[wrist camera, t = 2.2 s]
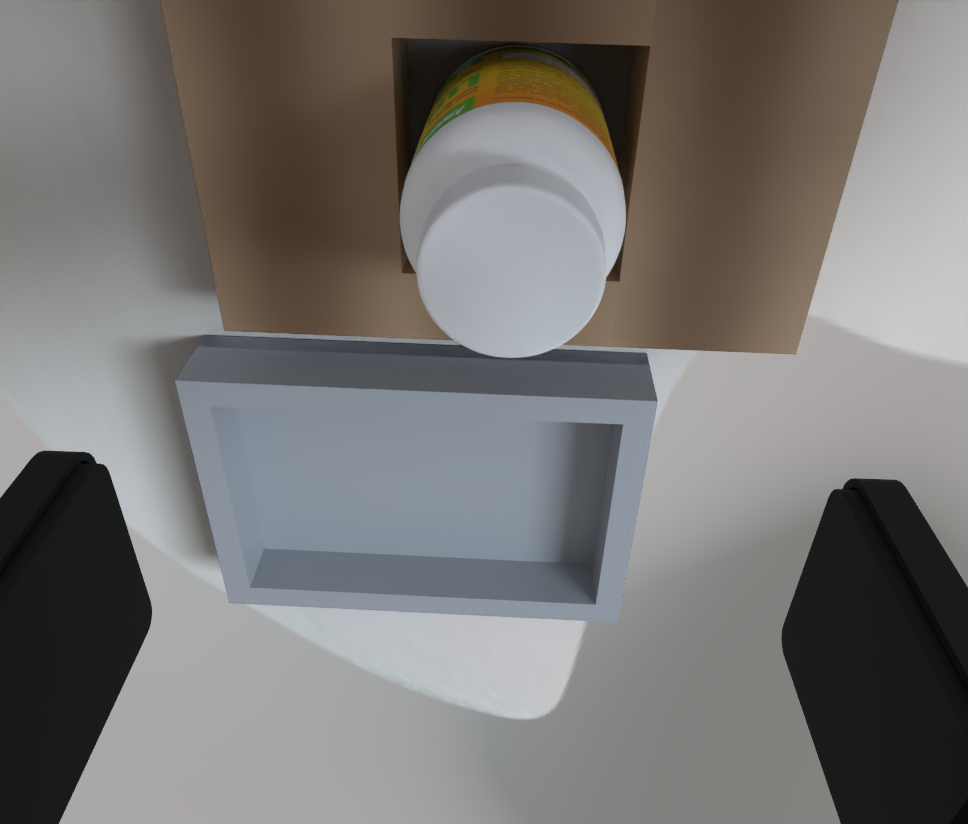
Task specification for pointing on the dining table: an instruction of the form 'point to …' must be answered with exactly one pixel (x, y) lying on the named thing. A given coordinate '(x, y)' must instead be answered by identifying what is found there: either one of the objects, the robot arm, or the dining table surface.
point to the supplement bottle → (513, 203)
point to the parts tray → (420, 474)
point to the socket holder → (643, 168)
